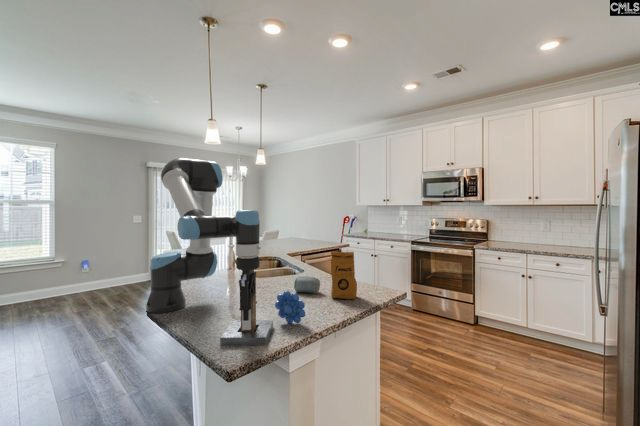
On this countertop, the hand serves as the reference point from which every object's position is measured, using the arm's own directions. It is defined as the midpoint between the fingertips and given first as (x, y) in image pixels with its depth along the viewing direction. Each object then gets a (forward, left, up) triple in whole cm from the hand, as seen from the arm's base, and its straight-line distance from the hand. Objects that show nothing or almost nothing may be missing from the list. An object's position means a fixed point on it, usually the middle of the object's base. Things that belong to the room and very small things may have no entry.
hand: (248, 326), depth 97 cm
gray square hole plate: (0, 0, -3) cm, 3 cm away
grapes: (+13, +10, -3) cm, 16 cm away
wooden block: (0, 0, -1) cm, 1 cm away
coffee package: (+35, +42, -3) cm, 55 cm away
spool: (+17, +51, -3) cm, 54 cm away
